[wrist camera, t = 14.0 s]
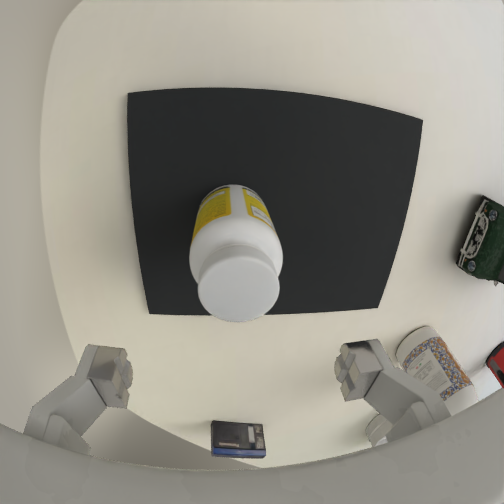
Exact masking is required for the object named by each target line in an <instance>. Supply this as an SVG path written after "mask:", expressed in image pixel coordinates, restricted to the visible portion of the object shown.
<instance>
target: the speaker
mask: <svg viewBox="0 0 504 504" xmlns="http://www.w3.org/2000/svg"><path fill="white" fill-rule="evenodd" d="M486 365H487V367H488V368H490V370H491V371H492V373H493V374H494V376H495V377H496V378H497V380H498V381H499V383H500V385H501V386H502V388H504V342H503V343H501V344H500V345H499V346H498V347H497V348H495V350H494V351H493V352H492V353H491V355H490V357H488V359H487V363H486Z"/></svg>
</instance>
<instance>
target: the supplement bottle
mask: <svg viewBox="0 0 504 504" xmlns="http://www.w3.org/2000/svg"><path fill="white" fill-rule="evenodd" d="M189 262H190V268H191V272H192V275H193V277H194V279H195V280H196V282H197V283H198V295H199V299H200V301H201V303H202V305H203V307H204V308H205V309H206V310H207V311H208V312H209V313H210V314H212V315H213V316H215V317H217V318H219V319H222V320H225V321H230V322H245V321H250V320H253V319H256V318H258V317H260V316H262V315H264V314H265V313H266V312H268V311H269V310H270V309H271V308H272V307H273V305H274V304H275V302H276V300H277V298H278V295H279V289H280V287H279V280H278V276H279V274H280V271H281V268H282V262H283V253H282V248H281V244H280V241H279V238H278V236H277V233H276V231H275V228H274V226H273V223H272V221H271V218H270V216H269V214H268V211H267V209H266V206H265V204H264V202H263V201H262V199H261V198H260V197H259V196H258V195H257V194H256V193H255V192H254V191H253V190H251V189H249V188H247V187H244V186H241V185H225V186H221V187H219V188H216V189H214V190H213V191H211V192H210V193H209V194H208V195H207V196H206V197H205V198H204V200H203V201H202V203H201V205H200V207H199V210H198V214H197V219H196V224H195V228H194V233H193V238H192V243H191V247H190V256H189Z"/></svg>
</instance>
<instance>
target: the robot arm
mask: <svg viewBox="0 0 504 504" xmlns="http://www.w3.org/2000/svg"><path fill="white" fill-rule="evenodd" d="M340 353H341V354H340V355H339V356H338V357H337V358H336V361H335V366H334V370H335V375H336V378H337V380H338V381H340V382H341V383H342V385H341V388H340V389H341V392H342V394H343V397H344V400H345V401H350V400H356V399H361V398H364V400H365V401H367V402H368V403H369V404H370V405H371V406H372V407H373V408H374V409H376V410H377V411H378V412H379V413H380V414H381V415H382V416H384V417H385V418H386V419H387V420H388V421H389V422H390V423H392V424H393V426H392V427H391V428H390V429H389V431H388V432H387V433H386V435H385V436H386V439H387V441H388V442H387V443H384V444H381V445H377V446H374V447H371V448H368V449H364V450H360V451H357V452H353V453H349V454H345V455H341V456H337V457H332V458H327V459H322V460H317V461H312V462H306V463H300V464H293V465H286V466H278V467H269V468H258V469H244V470H187V469H172V468H161V467H151V466H144V465H136V464H130V463H124V462H118V461H113V460H108V459H103V458H99V457H94V456H90V450H91V447H90V446H89V444H88V443H86V441H85V440H83V438H82V437H81V436H82V435H83V434H84V433H85V432H86V430H87V429H88V428H89V427H90V426H91V425H92V424H93V423H94V421H95V420H96V419H97V418H98V417H99V416H100V415H101V414H102V412H103V411H104V410H105V409H106V406H108V407H117V408H126V409H127V405H128V400H129V393H128V390H127V389H128V388H129V387H130V386H131V385H132V380H133V370H132V366H131V363H130V362H129V361H128V360H127V352H126V350H125V349H123V348H115V347H107V346H98V345H91V344H88V345H87V346H86V348H85V350H84V353H83V355H82V358H81V360H80V363H79V365H78V368H77V371H76V373H75V376H70V377H69V378H68V379H67V380H65V381H64V382H63V383H62V384H60V385H59V386H58V387H57V388H55V389H54V390H53V391H51V392H50V393H49V394H48V395H47V396H45V397H44V398H43V399H42V400H40V401H39V402H38V403H37V404H35V405H34V406H33V407H32V409H31V412H30V415H29V418H28V421H27V424H26V427H25V430H24V433H20V432H18V431H16V430H14V429H11V428H9V427H7V426H5V425H2V424H0V504H504V388H501V389H499V390H497V391H495V392H494V393H492V394H491V395H489V396H487V397H486V398H484V399H482V400H481V401H479V402H477V403H475V404H474V405H472V406H470V407H468V408H466V409H464V410H462V411H461V412H459V413H457V414H455V415H453V416H451V414H450V412H449V411H448V409H447V407H446V405H445V403H444V401H443V400H442V398H441V396H440V394H439V393H438V392H436V391H435V390H433V389H431V388H430V387H428V386H427V385H425V384H423V383H422V382H420V381H419V380H417V379H415V378H414V377H412V376H411V375H409V374H408V373H406V372H404V371H403V370H401V369H400V368H398V367H396V368H395V367H394V366H393V364H392V362H391V360H390V358H389V357H388V355H387V353H386V351H385V350H384V348H383V346H382V344H381V343H380V341H379V340H378V339H373V340H367V341H359V342H352V343H345V344H343V345H342V346H341V348H340Z"/></svg>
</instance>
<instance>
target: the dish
mask: <svg viewBox="0 0 504 504" xmlns="http://www.w3.org/2000/svg"><path fill="white" fill-rule="evenodd" d="M392 426H393V424H392V423H390V422H389V421H388V420H387V419H386V418H385V417H384V416H382V415H381V414H379V415H378V416H377V417H375V418H374V419H373V420H372V422H371V423H370V424H369V425H368V427H367V429H366V433H367V436H368V439H369V441H370V442H371V444H372V447H374V446H377V445H381V444H384V443H387V439H386V436H385V435H386V433H387V432H388V431H389V429H390V428H391V427H392Z"/></svg>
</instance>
